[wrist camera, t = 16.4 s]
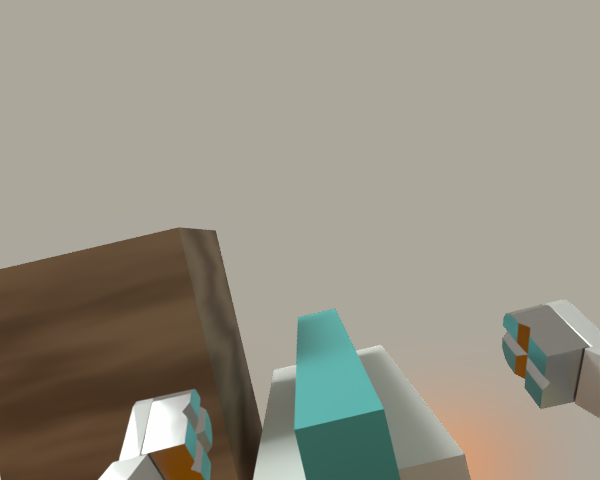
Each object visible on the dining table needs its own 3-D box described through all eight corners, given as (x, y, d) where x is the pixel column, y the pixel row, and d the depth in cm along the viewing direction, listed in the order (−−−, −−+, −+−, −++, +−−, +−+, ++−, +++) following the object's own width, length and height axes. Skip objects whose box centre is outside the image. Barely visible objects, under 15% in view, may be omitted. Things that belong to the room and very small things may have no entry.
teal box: (412, 527, 14) (384, 408, 14) (321, 549, 14) (293, 430, 14) (346, 358, 34) (335, 308, 34) (309, 366, 34) (297, 317, 34)
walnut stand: (292, 711, 23) (178, 227, 23) (69, 764, 23) (-47, 280, 23) (294, 567, 33) (215, 230, 33) (139, 603, 33) (59, 267, 33)
